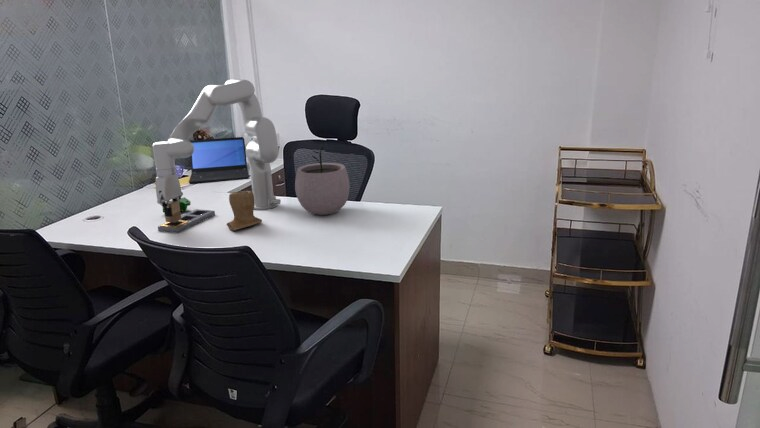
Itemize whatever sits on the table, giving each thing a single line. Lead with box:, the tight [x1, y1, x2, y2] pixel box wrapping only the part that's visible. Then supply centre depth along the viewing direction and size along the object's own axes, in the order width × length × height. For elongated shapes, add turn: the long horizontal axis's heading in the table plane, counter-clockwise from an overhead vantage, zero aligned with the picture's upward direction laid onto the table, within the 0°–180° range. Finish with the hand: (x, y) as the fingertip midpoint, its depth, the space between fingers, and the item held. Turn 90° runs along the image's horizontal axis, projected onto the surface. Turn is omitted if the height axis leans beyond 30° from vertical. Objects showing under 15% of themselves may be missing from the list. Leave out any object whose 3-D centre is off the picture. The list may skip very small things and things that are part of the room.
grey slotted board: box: [157, 208, 216, 234], centre depth 235 cm, size 10×25×2 cm, turn 160°
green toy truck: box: [162, 197, 192, 214], centre depth 250 cm, size 12×6×9 cm, turn 133°
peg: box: [164, 200, 182, 223], centre depth 226 cm, size 4×4×8 cm
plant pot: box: [294, 146, 351, 216], centre depth 237 cm, size 24×24×30 cm
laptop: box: [188, 136, 249, 185], centre depth 321 cm, size 33×38×19 cm
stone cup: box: [226, 190, 263, 232], centre depth 226 cm, size 15×12×15 cm
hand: (172, 214), depth 226 cm, fingers closed on peg, 4 cm apart
